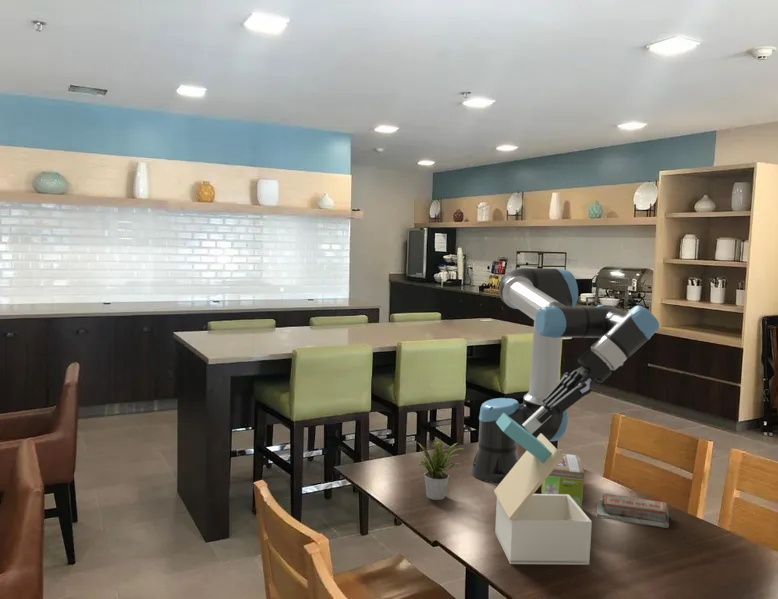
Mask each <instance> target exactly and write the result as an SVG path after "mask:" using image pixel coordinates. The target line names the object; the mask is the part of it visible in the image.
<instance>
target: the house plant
mask: <svg viewBox="0 0 778 599" xmlns="http://www.w3.org/2000/svg"><path fill="white" fill-rule="evenodd" d="M433 442H434V452H433V454H432V455H431V456H430V454H429V452H428V450H427V449H426V448H425V447H424V446H423V445H422V444H421V443H419V442H417V445H419V446H420V447H421V449H422V450H421V449H419V452H421V453H422V454H423V458H424V461H422V460H420V461H418V463H419V464H418V467H425V468H426V470H427V471H426V472H424V473H423V474H424V483H425V485H424V486H425V493H426V498H428V499H429V500H433V501H441V500H444V499H445V498H446V494H447V490H448V484H449V479H450V474H449V473H447V472H446V471H449V470H450V469H451V468H452V467H454V466H458V467H459V465H462V463H460V462H457V463H454V462H449V461H450V459H451V458H452V457H455V456H459V454H458V453H457V454H455V453H454V452H455V451H458V450H464V449H465V448H464V447H460V448H456V445H458V442H456V443H453V444H452V445H450V446H449V448H446V449H443V444H442V443H443V442H442V440H441V438H439V440H437V441H435V440H433ZM443 452H444V453H443ZM453 453H454V454H453ZM451 454H452V455H451ZM448 466H450V467H449V468H447V467H448Z"/></svg>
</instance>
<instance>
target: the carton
mask: <svg viewBox="0 0 778 599" xmlns="http://www.w3.org/2000/svg"><path fill="white" fill-rule="evenodd" d="M592 522H593V521H592V520H591V519H590V517H589V516H588V515H587V514H586V513H585V512H584V511H583V508H582V509H581V508H580V507H579V506H578V505H577V504H576V502H575V501H574V500H573V499H572V498H571V496H570V495H569V494H541V493H534V494H533V495H532V497H531V498H530V499H529V500H528V501H527V503H526V504H525V505H524V506H523V508H522V509H521V510H520V511H519V512H518V514H517V515H516V516H515V517H514V519H513V520H511V519H509V517H508V515H507V514H506V512H505V510H504V508H503V506H502V505H501V503H500V501H499V499H498V497H497V496H496V510H495V530H494V532H495V535H496V537H497V540H498V541H499V544H500V545H501V548H502V549H503V552H504V554H505V556H506V558H507V560H508V562H509V564H510V565H582V566H583V565H590V558H591V556H590V555H591V540H592Z"/></svg>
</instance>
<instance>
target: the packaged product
mask: <svg viewBox="0 0 778 599" xmlns="http://www.w3.org/2000/svg"><path fill="white" fill-rule="evenodd" d="M669 512H670V511H669V510H668V503H667V502H664V501H658V500H651V499H648V498H647V499H646V498H640V497H634V496H625V495H620V494H613V493H603V494H602V499H597V503H596V513H595V514H596V518H601V517H603V518H602V519H609V518H610V520H615V521H621V522H626V523H633V524H637V525H638V524H639V525H644V526H645V525H647V526H653V527H658V528H659V527H660V528H665V529H669V528H670V524H669V521H670V520H669V518H670V517H669Z"/></svg>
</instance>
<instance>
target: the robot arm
mask: <svg viewBox="0 0 778 599" xmlns="http://www.w3.org/2000/svg"><path fill="white" fill-rule="evenodd" d="M498 294H499V297H500V299H501V301H502V302H503V303H504V304H505V305H507V306H508V307H509V308H512V309H514V310H516V309H517V310H519V311H520V312H522V313H523V314H525V315H526V316H528V317H529V318H530V319H532V320H533V329H532V330H533V331H532V332H533V333H532V346H531V358H530V370H529V371H530V372H529V373H530V374H529V384H528V385H529V386H528V392H527V393H526V394H524V396H523V402H522V403H519V401H518V400H516V399H514V398H510V397H508V398H505V397H499V398H491V399H488V400H486V401H484V402H483V403H482V404H481V406H480V409H479V410H480V411H479V415H478V420H479V422H478V424H479V426H478V448H477V451H476V454H475V456H474V459H473V461H472V465H471V474H472V476H473V477H475V478H477V479H479V480H482V481H484V482H491V483H499V484H500V483H501V481H502V480H503V479H504V478H505V476H506V475H507V474H508V473H509V472H510V470H511V469H512V468H513V467H514V465H515V464H516V463H517V462H518V460H519V457H518V454H517V444H518V443H517V442H516V441H514V440H513V439H512V438H510V437H509V436H508V435H507V434H505V433H504V432H503V431H502V430H501V428H500V427H499V426H498V425H497V423H496V421H497V420H498V419H499V418H500V416H501V415H502V414H503V413H505V414H506V415H507V416H509V417H510V418H511V419H512V420H514V421H515V422H516V423H518V424H519V425H520V426H521V427H523V428H524V429H525V430H526V431H528V432H529V433H530V434H532V435H533V436H534V437H535V438H537V437H538V436H539V435H540V433H541V434H543V435H544V436H545V437H546V438H547V439H548V440H549V441H550V442H556V441H559V440H561V438H563V437H564V435H565V433H566V430H567V428H568V420H569V416H568V409H569V408H570V407H571V406H573V405H575V403H577V402H578V401H579V400H581V399H582V398H583V397H584V396H587V395H588V394H590V393H591V392H592V388H591V385H593V383H594V382H595V381H596V382H597V383H599V384H600V383H602V384H603V382H604V381H606V379H608V378H609V377H610V376H612V371H616V370H617V369H618V368H619V367H622V366H624V363H625V361H627V359H629V358H630V357H631V356H632V355H634V353H636V352H637V350H640V348H641V347H642V346H643V345H645V343H647V341H648V342H649V340H650V339H651V337H652V336H654V335H655V333H656V332H657V331H659V329H660V322H659V320H658V319H657V318H656V317H655V315H654V314H653V313H652V312H651V311H650V310H648V309H647V308H646V307H644V306H641V305H635V306H633V307H632V308H631V309H629V310H628V312H627V311H623V310H622V309H619V308H617V307H615V306H613V305H607V304H598V305H596V306H576V305H577V303H578V299H579V287H578V283H577V280H576V278H575V276H574V274H573V273H572V272H571V271H570V270H567V269H561V268H535V267H534V268H532V267H531V268H528V267H519V268H517V269H513V270H511V271H510V272H508V273H506V274H505V275H504V276H503V278H501V280H500V282H499V286H498ZM563 338H584V339H587V338H591V339H592V338H593V339H595V338H596V339H597V338H598V340H596V341H595V342H594V343H593V344H592V345H591V346H590V349H587V350H586V351H585V352H584V353H582V354H581V355H580V357H579V358H577V362H578V364H579V367H578V368H577V369H575V370H573V371H572V372H570V373H569V371H567V372H565V373H564V374H563V376H562V377H561V379H559V377H560V364H561V347H562V339H563Z"/></svg>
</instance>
